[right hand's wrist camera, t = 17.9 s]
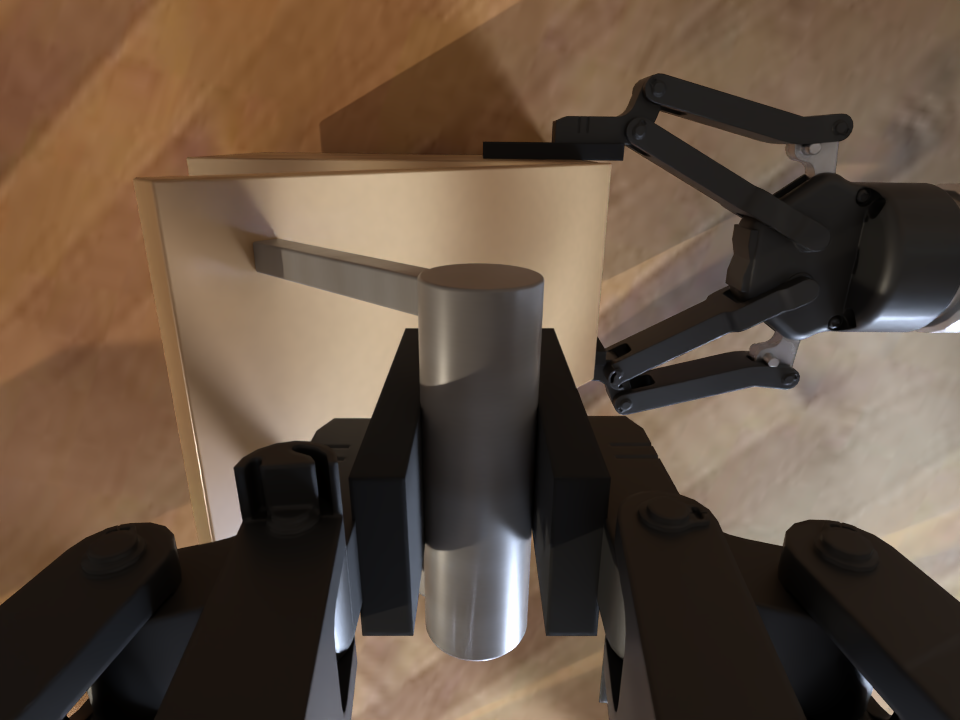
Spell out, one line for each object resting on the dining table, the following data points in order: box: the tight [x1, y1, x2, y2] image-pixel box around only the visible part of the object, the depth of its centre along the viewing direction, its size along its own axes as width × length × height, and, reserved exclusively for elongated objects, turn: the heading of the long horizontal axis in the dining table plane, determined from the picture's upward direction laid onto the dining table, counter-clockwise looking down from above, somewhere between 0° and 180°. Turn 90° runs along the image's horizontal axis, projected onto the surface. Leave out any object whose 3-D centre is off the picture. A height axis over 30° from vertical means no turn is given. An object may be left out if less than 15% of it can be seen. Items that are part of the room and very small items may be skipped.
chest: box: [187, 152, 598, 176], centre depth 31 cm, size 17×10×11 cm, turn 89°
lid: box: [133, 162, 612, 661], centre depth 17 cm, size 18×10×8 cm
